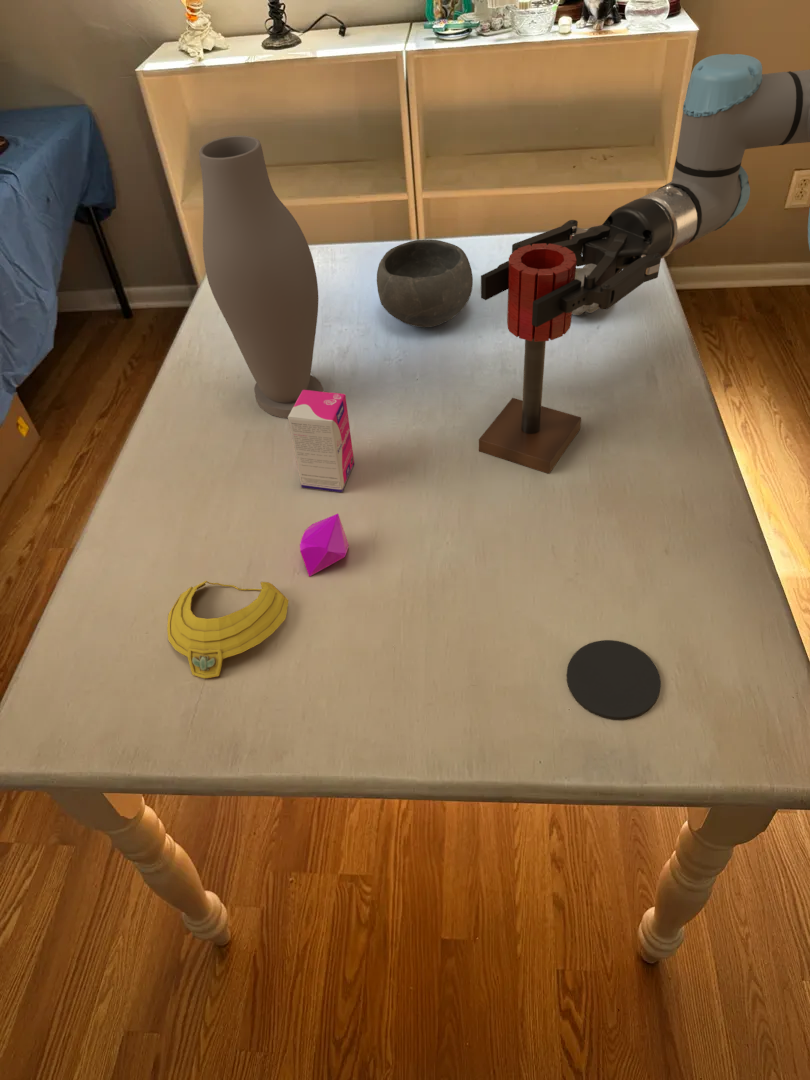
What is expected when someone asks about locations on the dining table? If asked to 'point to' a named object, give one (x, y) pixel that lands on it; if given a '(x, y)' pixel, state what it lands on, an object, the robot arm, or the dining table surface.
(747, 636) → the dining table surface
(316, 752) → the dining table surface
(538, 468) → the ring holder
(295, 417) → the supplement box
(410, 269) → the bowl
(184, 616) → the necklace
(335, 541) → the crystal
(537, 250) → the ring
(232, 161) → the vase
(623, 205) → the robot arm
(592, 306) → the fossil
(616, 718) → the mat
